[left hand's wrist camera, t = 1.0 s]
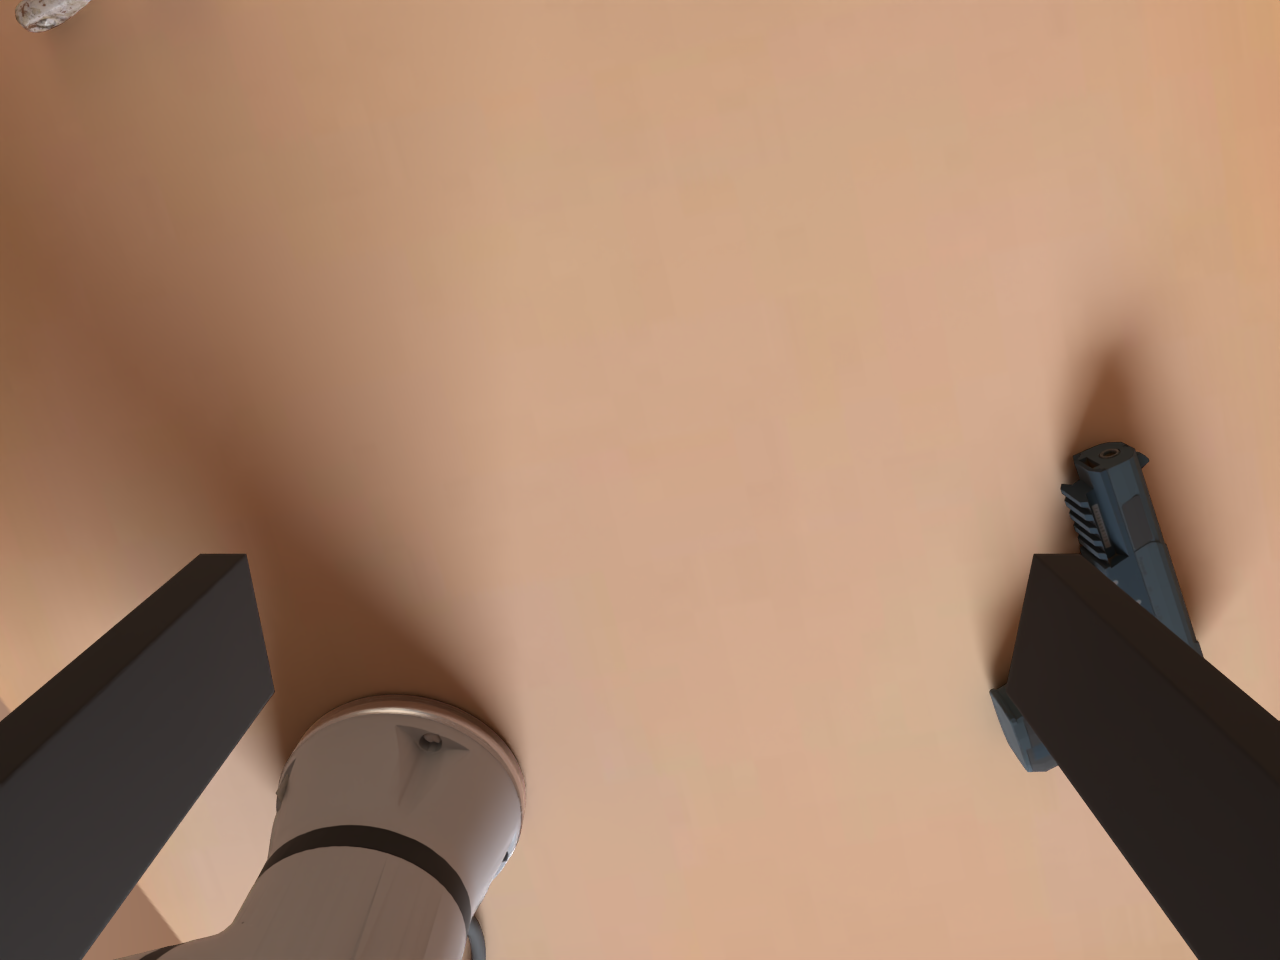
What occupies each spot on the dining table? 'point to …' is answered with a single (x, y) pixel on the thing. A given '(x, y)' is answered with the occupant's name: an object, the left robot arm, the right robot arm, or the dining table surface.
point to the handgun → (1110, 563)
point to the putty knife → (46, 13)
